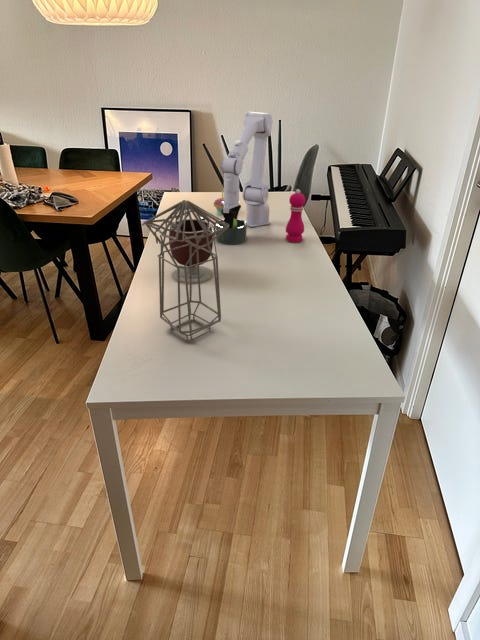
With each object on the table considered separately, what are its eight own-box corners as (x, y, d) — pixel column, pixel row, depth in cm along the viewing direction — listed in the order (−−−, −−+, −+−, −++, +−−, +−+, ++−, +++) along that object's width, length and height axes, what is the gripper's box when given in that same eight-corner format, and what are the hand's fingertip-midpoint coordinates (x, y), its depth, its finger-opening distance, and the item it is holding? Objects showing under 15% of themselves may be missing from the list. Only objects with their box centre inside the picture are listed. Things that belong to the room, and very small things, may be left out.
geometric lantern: (197, 311, 128) (192, 188, 110) (232, 333, 118) (233, 202, 100) (149, 330, 119) (135, 199, 101) (183, 356, 109) (175, 216, 91)
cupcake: (231, 217, 201) (232, 190, 195) (213, 216, 201) (212, 189, 195) (232, 211, 208) (232, 185, 202) (214, 210, 209) (213, 184, 202)
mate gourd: (207, 264, 156) (206, 208, 146) (218, 281, 145) (217, 221, 134) (163, 269, 152) (158, 211, 142) (170, 287, 141) (166, 226, 130)
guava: (233, 226, 178) (233, 213, 175) (239, 230, 175) (239, 216, 172) (223, 228, 176) (223, 215, 173) (228, 232, 173) (228, 218, 170)
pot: (236, 232, 184) (237, 216, 181) (251, 241, 176) (252, 225, 172) (211, 236, 179) (210, 221, 176) (225, 246, 171) (225, 230, 167)
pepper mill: (282, 241, 177) (285, 190, 166) (289, 235, 182) (292, 185, 172) (299, 244, 174) (303, 192, 163) (305, 238, 179) (310, 188, 169)
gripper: (226, 185, 174) (226, 219, 181) (215, 194, 162) (215, 230, 169) (244, 186, 173) (243, 220, 180) (233, 196, 161) (233, 232, 168)
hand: (231, 225), depth 175 cm, fingers closed on guava, 4 cm apart
